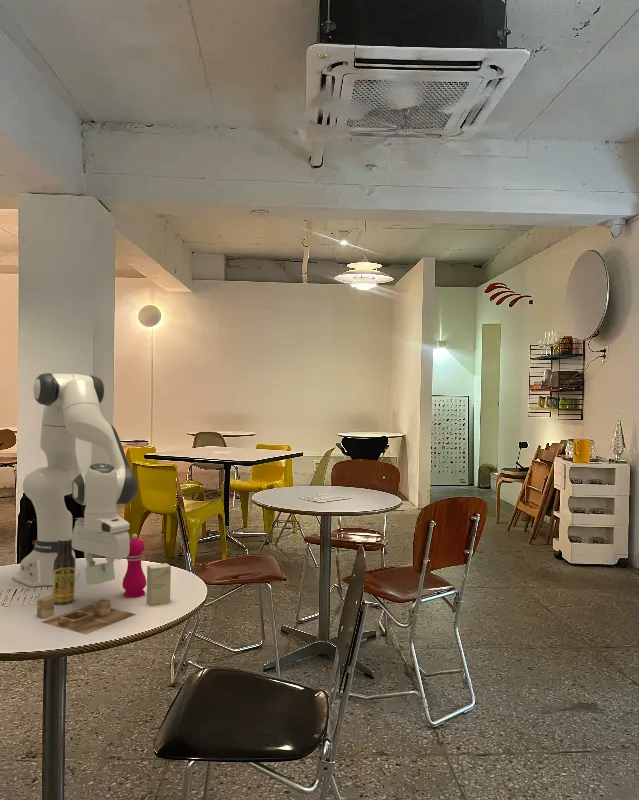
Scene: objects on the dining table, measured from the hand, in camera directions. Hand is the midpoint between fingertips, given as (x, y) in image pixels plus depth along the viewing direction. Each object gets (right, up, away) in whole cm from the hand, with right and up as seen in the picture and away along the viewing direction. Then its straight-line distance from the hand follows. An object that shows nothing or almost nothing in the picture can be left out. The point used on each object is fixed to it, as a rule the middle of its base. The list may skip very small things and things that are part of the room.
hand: (99, 569), depth 188 cm
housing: (+1, -3, 0) cm, 4 cm away
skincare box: (+15, -14, +10) cm, 22 cm away
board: (-1, -14, -4) cm, 14 cm away
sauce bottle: (-14, -14, +10) cm, 22 cm away
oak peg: (-14, -14, -2) cm, 20 cm away
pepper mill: (+5, -14, +18) cm, 23 cm away
